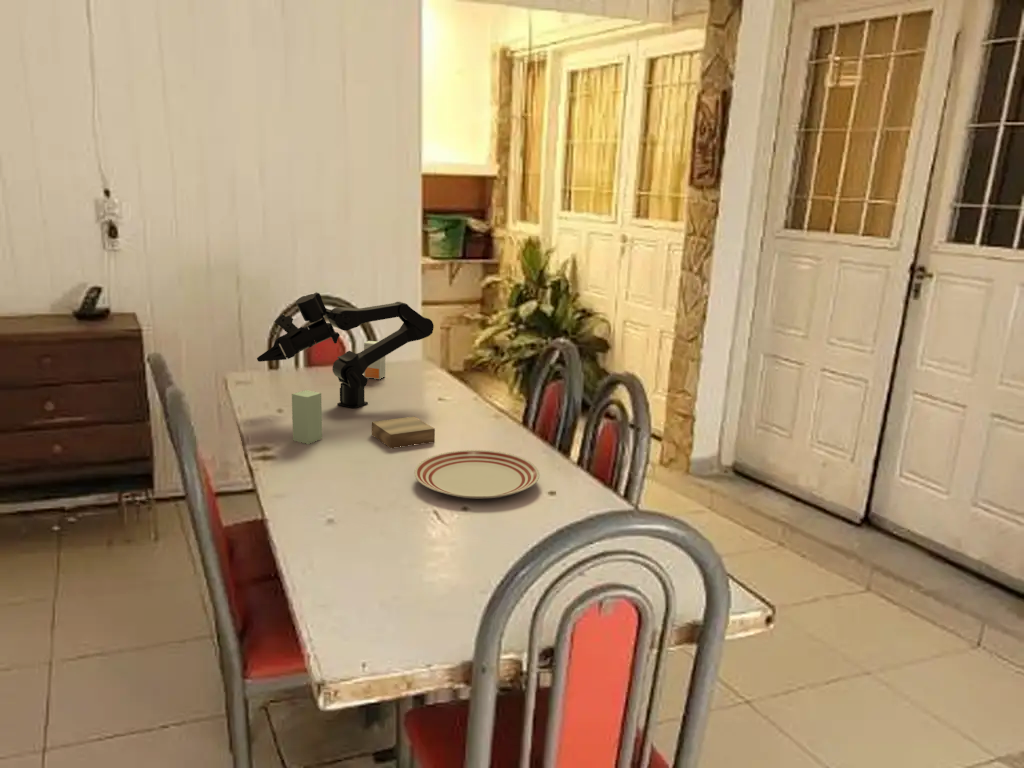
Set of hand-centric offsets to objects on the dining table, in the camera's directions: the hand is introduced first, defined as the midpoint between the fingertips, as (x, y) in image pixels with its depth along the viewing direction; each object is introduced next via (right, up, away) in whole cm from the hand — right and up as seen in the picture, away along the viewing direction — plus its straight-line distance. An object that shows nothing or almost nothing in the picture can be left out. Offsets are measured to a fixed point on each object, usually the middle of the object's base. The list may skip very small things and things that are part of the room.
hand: (258, 359), depth 224 cm
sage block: (+18, -21, -19) cm, 33 cm away
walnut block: (+41, -21, -15) cm, 49 cm away
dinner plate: (+61, -29, -43) cm, 81 cm away
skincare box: (+24, -5, +47) cm, 53 cm away
